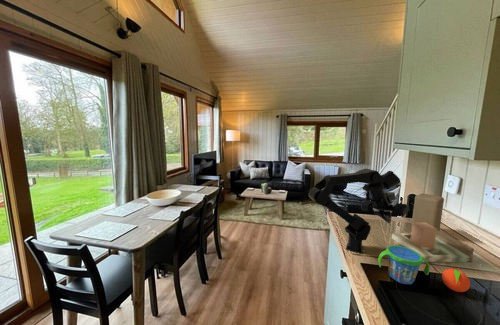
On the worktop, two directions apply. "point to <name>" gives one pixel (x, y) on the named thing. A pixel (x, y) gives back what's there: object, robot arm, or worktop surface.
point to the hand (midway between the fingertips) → (389, 222)
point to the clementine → (456, 280)
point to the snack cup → (403, 263)
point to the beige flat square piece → (438, 248)
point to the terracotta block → (423, 234)
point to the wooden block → (428, 210)
